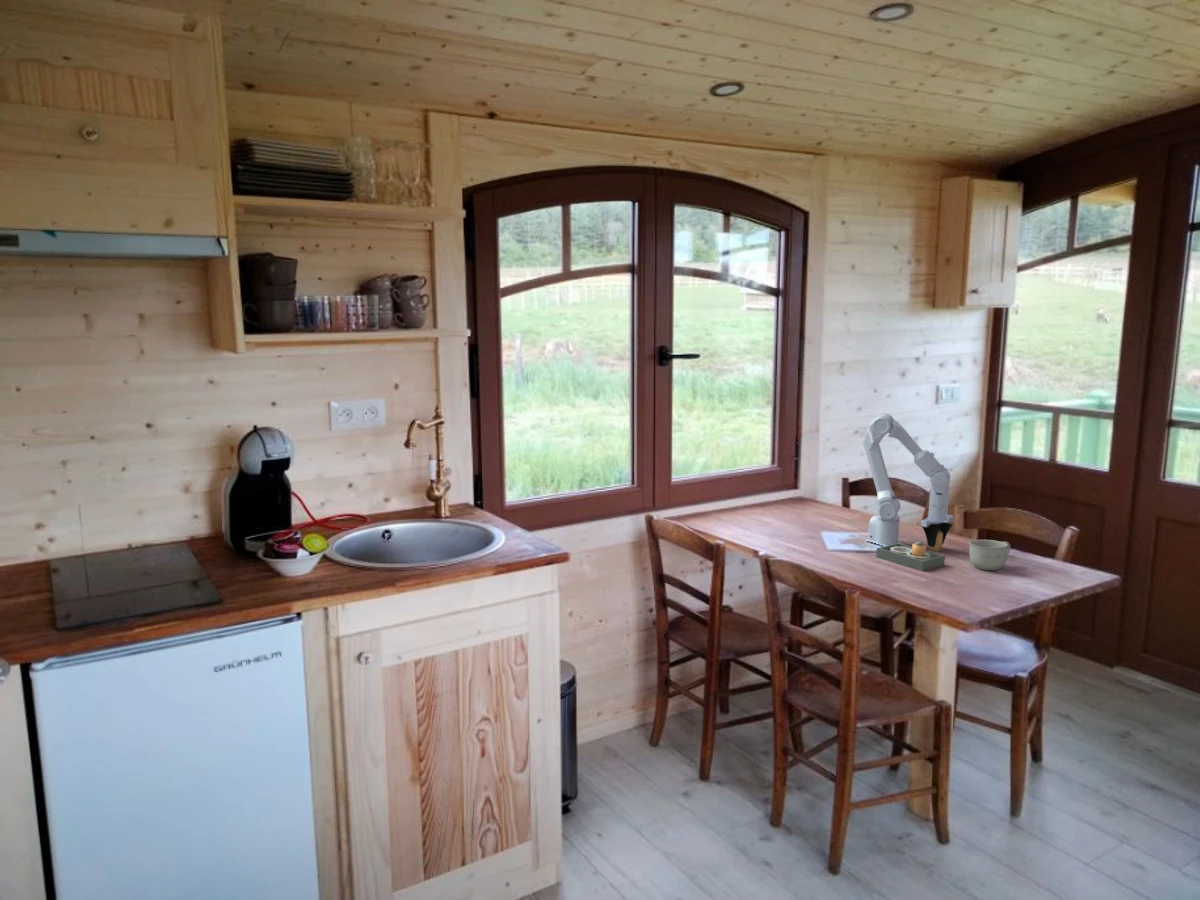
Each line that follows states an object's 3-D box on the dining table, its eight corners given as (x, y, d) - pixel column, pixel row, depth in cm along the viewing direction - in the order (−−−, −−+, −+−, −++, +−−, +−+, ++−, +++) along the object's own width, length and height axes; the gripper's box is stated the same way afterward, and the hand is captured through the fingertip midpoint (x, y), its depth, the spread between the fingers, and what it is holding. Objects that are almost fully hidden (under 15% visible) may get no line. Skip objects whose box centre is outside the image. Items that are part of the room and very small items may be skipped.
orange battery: (926, 549, 275) (927, 529, 274) (933, 547, 277) (935, 527, 276) (936, 552, 271) (938, 532, 270) (944, 550, 274) (945, 530, 272)
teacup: (982, 574, 249) (984, 548, 248) (959, 563, 260) (961, 538, 258) (1022, 571, 252) (1025, 546, 251) (999, 561, 262) (1001, 536, 261)
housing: (876, 557, 266) (877, 536, 264) (898, 551, 272) (899, 531, 270) (922, 571, 252) (923, 549, 250) (944, 565, 258) (945, 544, 256)
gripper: (935, 510, 264) (932, 551, 267) (962, 504, 272) (959, 544, 275) (916, 505, 270) (913, 546, 272) (943, 500, 278) (940, 539, 280)
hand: (935, 545), depth 274 cm, fingers closed on orange battery, 4 cm apart
